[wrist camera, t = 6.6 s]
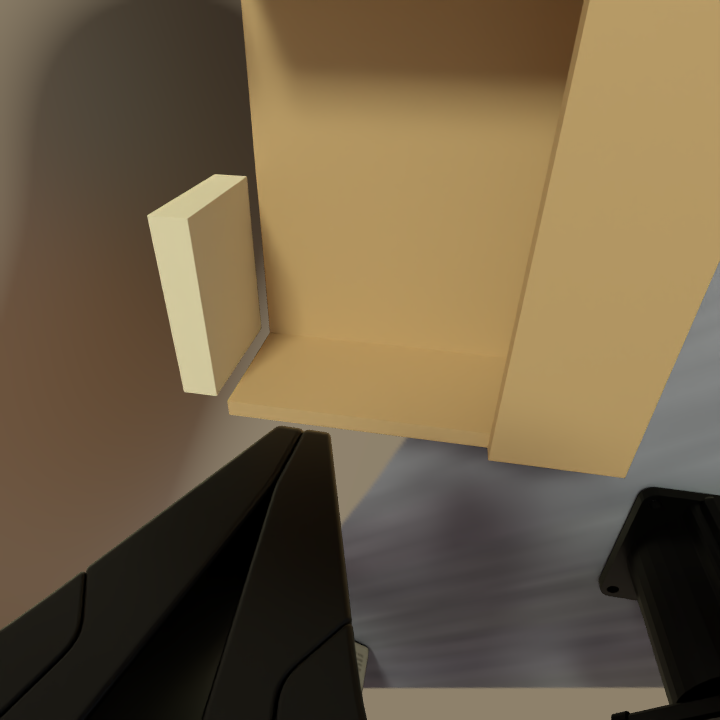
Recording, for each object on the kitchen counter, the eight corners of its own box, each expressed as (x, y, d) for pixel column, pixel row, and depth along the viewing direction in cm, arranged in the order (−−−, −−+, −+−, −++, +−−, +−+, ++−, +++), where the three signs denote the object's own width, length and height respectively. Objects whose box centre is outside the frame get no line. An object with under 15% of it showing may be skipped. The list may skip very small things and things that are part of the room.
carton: (586, 370, 17) (624, 478, 13) (275, 337, 19) (222, 425, 15) (736, -95, 11) (906, -168, 7) (240, -94, 12) (127, -154, 8)
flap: (261, 328, 18) (216, 395, 15) (234, 325, 18) (184, 391, 15) (246, 176, 15) (187, 218, 12) (214, 174, 15) (147, 215, 12)
